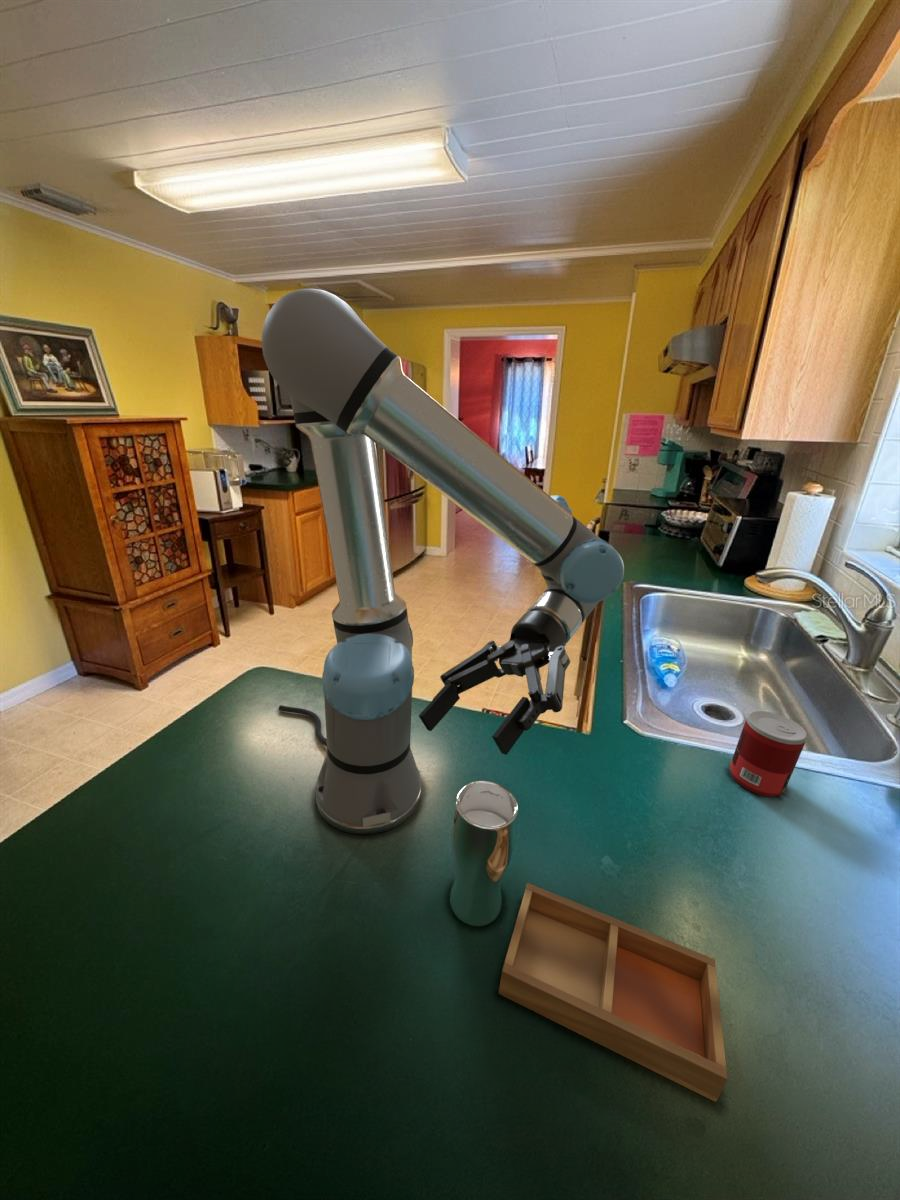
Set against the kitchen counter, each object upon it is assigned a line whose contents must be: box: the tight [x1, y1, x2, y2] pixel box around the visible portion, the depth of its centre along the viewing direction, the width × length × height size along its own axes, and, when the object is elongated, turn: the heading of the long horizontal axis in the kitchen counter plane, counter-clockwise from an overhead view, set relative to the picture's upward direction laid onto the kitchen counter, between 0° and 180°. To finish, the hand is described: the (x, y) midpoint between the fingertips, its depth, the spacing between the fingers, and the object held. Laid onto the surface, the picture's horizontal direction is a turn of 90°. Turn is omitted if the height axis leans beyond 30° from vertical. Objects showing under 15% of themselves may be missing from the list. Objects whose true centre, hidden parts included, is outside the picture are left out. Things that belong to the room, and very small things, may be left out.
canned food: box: [729, 710, 808, 797], centre depth 75 cm, size 8×8×11 cm
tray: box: [498, 882, 729, 1103], centre depth 47 cm, size 10×19×4 cm, turn 67°
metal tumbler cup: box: [449, 780, 519, 927], centre depth 52 cm, size 7×7×15 cm
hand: (458, 733), depth 58 cm, fingers open, 13 cm apart
